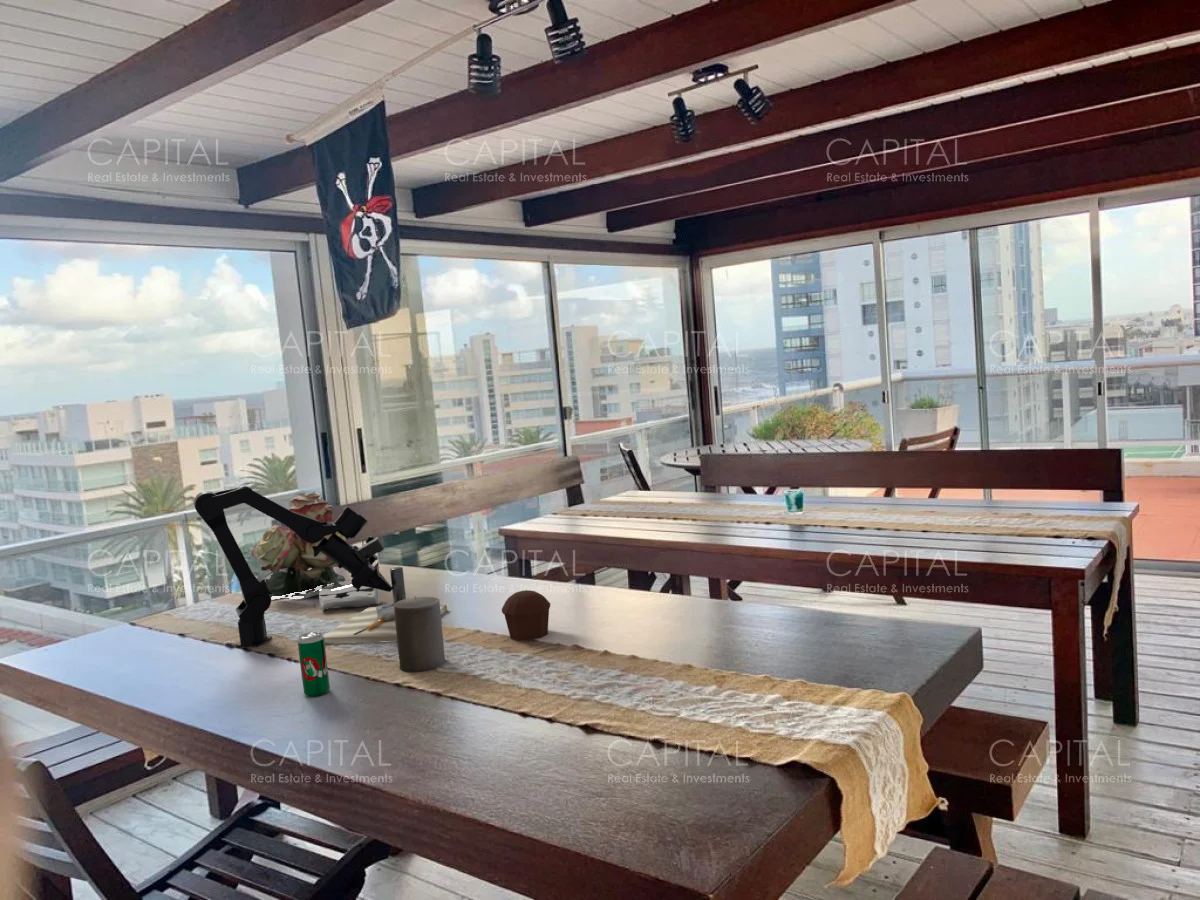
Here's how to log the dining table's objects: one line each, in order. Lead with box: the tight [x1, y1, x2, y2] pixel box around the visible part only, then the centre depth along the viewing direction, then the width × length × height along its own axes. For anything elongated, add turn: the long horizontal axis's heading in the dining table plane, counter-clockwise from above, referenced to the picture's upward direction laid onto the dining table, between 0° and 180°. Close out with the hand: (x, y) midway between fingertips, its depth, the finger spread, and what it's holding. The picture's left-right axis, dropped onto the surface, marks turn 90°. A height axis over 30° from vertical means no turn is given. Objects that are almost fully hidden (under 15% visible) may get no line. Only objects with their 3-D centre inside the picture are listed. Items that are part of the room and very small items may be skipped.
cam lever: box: [366, 566, 407, 630], centre depth 225 cm, size 18×5×11 cm, turn 164°
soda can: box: [297, 631, 331, 698], centre depth 180 cm, size 5×5×12 cm
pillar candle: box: [393, 595, 446, 673], centre depth 192 cm, size 10×10×15 cm
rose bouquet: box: [250, 491, 349, 599], centre depth 272 cm, size 26×29×30 cm
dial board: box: [322, 604, 448, 644], centre depth 225 cm, size 26×22×2 cm
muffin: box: [501, 589, 551, 642], centre depth 207 cm, size 12×11×10 cm
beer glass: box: [318, 582, 380, 610], centre depth 248 cm, size 7×7×15 cm
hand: (391, 590), depth 232 cm, fingers closed, pressing on cam lever
